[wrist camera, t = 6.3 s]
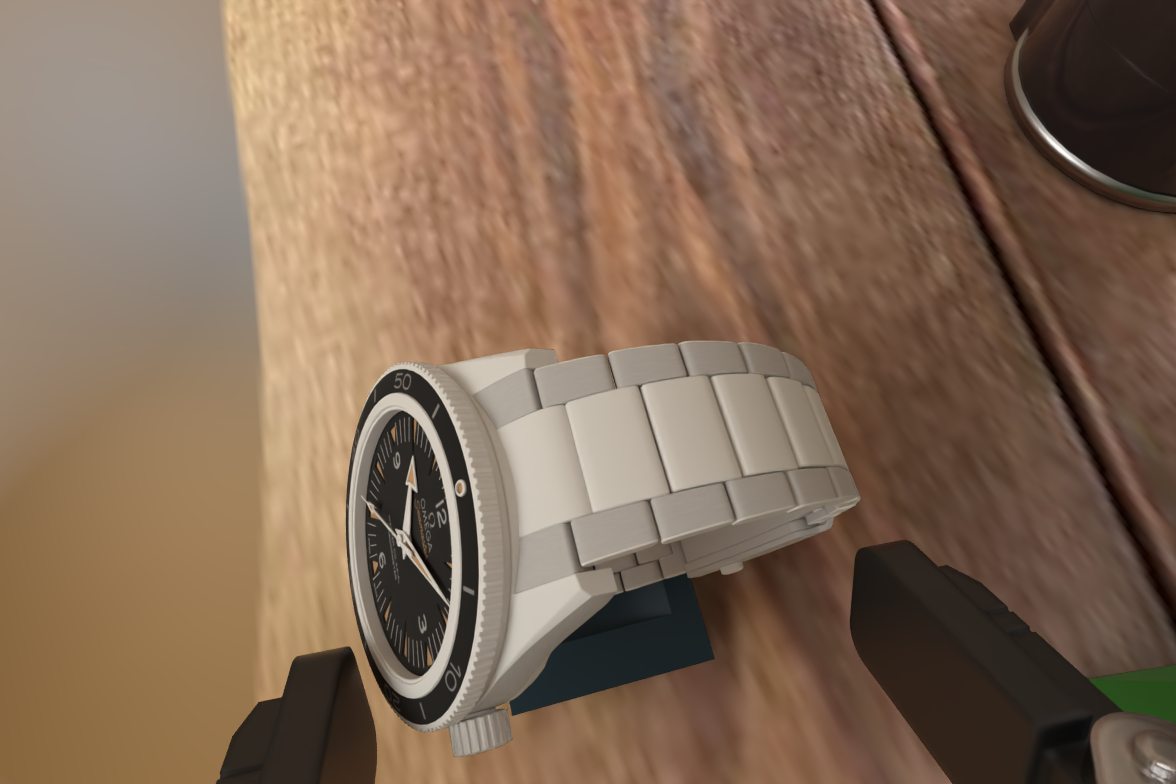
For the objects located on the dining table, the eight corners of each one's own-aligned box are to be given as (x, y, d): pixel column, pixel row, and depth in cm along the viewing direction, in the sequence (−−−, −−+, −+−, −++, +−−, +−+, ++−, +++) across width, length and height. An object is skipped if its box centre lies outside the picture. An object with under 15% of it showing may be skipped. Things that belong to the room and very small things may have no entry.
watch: (401, 507, 18) (226, 302, 8) (687, 442, 19) (846, 192, 9) (436, 735, 16) (265, 838, 6) (752, 646, 18) (1044, 612, 7)
